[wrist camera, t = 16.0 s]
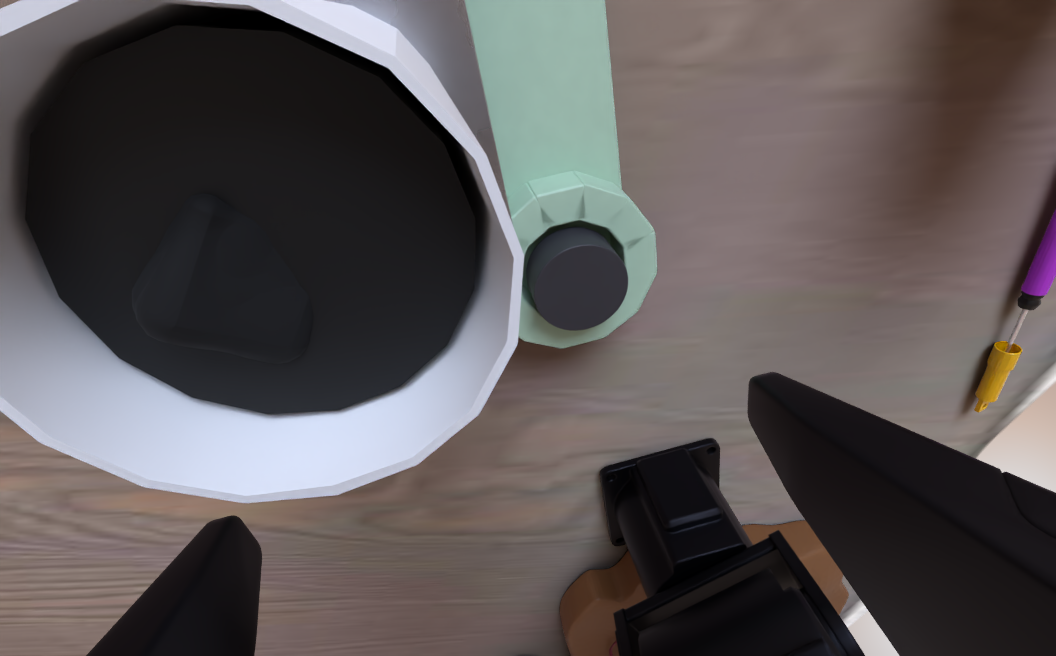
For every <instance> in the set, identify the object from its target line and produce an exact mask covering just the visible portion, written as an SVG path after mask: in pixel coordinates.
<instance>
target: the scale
mask: <svg viewBox="0 0 1056 656" xmlns="http://www.w3.org/2000/svg"><path fill="white" fill-rule="evenodd" d="M465 3H466V8H467V13H468V17H469V22H470V27H471V31H472V36H473V41H474V45H475V50H476V55H477V59H478V64H479V69H480V73H481V78H482V83H483V87H484V92H485V97H486V101H487V106H488V111H489V115H490V120H491V125H492V129H493V134H494V139H495V143H496V148H497V153H498V157H499V162H500V167H501V171H502V176H503V181H504V185H505V190H506V195H507V199H508V204H509V209H510V213H511V218H512V223H513V227H514V230H515V232H516V235H517V238H518V240H519V243H520V246H521V248H522V251H523V254H524V264H523V278H522V292H521V307H520V321H519V335H518V337H519V338H520V339H522V340H523V341H525V342H530V343H535V344H540V345H546V346H551V347H556V348H561V349H563V348H568V347H571V346H575V345H579V344H583V343H587V342H591V341H595V340H598V339H602V338H604V337H606V336H608V335H609V334H610V333H611V332H613V331H614V330H615V329H617V328H618V327H619V326H620V325H622V324H623V323H624V322H625V321H627V320H628V319H629V318H630V317H632V316H633V315H634V314H635V313H637V312H638V310H639V309H640V307H641V305H642V302H643V300H644V298H645V296H646V294H647V292H648V290H649V288H650V286H651V284H652V282H653V280H654V278H655V276H656V274H657V273H656V272H657V256H656V238H655V231H654V228H653V227H652V226H651V224H650V223H649V222H648V221H647V219H646V218H645V217H644V215H643V214H642V213H641V212H640V210H639V209H638V208H637V206H636V205H635V204H634V203H633V201H632V200H631V199H630V198H629V197H628V196H627V195H626V194H625V193H624V192H623V191H622V185H621V174H620V163H619V152H618V141H617V130H616V119H615V107H614V96H613V85H612V74H611V63H610V52H609V41H608V30H607V18H606V7H605V0H465ZM568 227H584V228H588V229H591V230H594V231H596V232H598V233H599V234H601V235H602V236H603V237H604V238H605V239H606V240H607V241H608V243H609V244H610V245H611V247H612V248H613V249H614V250H615V252H616V253H617V254H618V256H619V257H620V258H621V260H622V261H623V263H624V265H625V267H626V269H627V273H628V289H627V293H626V296H625V298H624V301H623V302H622V304H621V306H620V307H619V309H618V310H617V311H616V312H615V313H614V314H613V315H612V316H611V317H610V318H609V319H607V320H606V321H605V322H603V323H601V324H599V325H597V326H595V327H592V328H589V329H585V330H578V331H570V330H564V329H560V328H557V327H555V326H553V325H551V324H550V323H548V322H547V321H546V320H545V319H544V318H543V317H542V316H541V315H540V313H539V312H538V310H537V308H536V305H535V303H534V300H533V297H532V295H531V292H530V290H529V287H528V284H527V279H526V268H527V263H528V260H529V257H530V255H531V253H532V251H533V250H534V248H535V247H536V246H537V245H538V243H539V242H540V241H541V240H543V239H544V238H545V237H546V236H548V235H550V234H551V233H553V232H555V231H557V230H560V229H563V228H568Z"/></svg>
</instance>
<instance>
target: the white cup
mask: <svg viewBox="0 0 1056 656" xmlns="http://www.w3.org/2000/svg"><path fill="white" fill-rule="evenodd" d="M523 264H524V254H523V251H522V248H521V246H520V243H519V240H518V238H517V235H516V232H515V230H514V227H513V224H512V222H511V219H510V216H509V214H508V211H507V208H506V206H505V203H504V200H503V198H502V195H501V192H500V190H499V187H498V184H497V182H496V179H495V176H494V174H493V171H492V168H491V166H490V163H489V160H488V158H487V155H486V153H485V152H484V150H483V149H482V147H481V146H480V144H479V142H478V141H477V139H476V138H475V136H474V134H473V133H472V131H471V130H470V128H469V127H468V125H467V123H466V122H465V120H464V119H463V117H462V116H461V114H460V112H459V111H458V109H457V108H456V106H455V104H454V103H453V101H452V100H451V98H450V97H449V95H448V93H447V92H446V90H445V89H444V87H443V86H442V84H441V82H440V81H439V79H438V78H437V76H436V75H435V73H434V71H433V70H432V68H431V67H430V65H429V64H428V62H427V61H426V60H425V59H424V58H423V57H422V56H421V55H420V53H419V52H418V51H417V50H416V49H415V48H414V47H413V46H412V45H411V43H410V42H409V41H408V40H407V39H406V38H405V37H404V36H403V35H402V33H401V32H400V31H399V30H398V29H397V28H395V27H393V26H391V25H389V24H387V23H385V22H384V21H382V20H380V19H378V18H376V17H374V16H372V15H370V14H368V13H366V12H364V11H362V10H360V9H358V8H356V7H354V6H352V5H345V4H340V3H335V2H330V1H325V0H20V1H18V2H16V3H13V4H11V5H8V6H6V7H3V8H1V9H0V411H1V412H3V413H4V414H5V415H6V416H8V417H9V418H10V419H11V420H13V421H14V422H15V423H16V424H17V425H19V426H20V427H21V428H22V429H24V430H25V431H26V432H27V433H29V434H30V435H31V436H32V437H34V438H35V439H36V440H37V441H39V442H40V443H42V444H44V445H46V446H49V447H51V448H53V449H56V450H58V451H60V452H63V453H65V454H67V455H70V456H72V457H74V458H77V459H79V460H81V461H84V462H86V463H88V464H91V465H93V466H95V467H98V468H100V469H103V470H105V471H107V472H110V473H112V474H114V475H117V476H119V477H121V478H124V479H126V480H128V481H131V482H133V483H135V484H138V485H140V486H142V487H146V488H153V489H159V490H165V491H171V492H178V493H184V494H190V495H196V496H202V497H209V498H215V499H221V500H227V501H234V502H240V503H253V502H265V501H276V500H287V499H299V498H310V497H322V496H333V495H339V494H342V493H344V492H347V491H349V490H352V489H355V488H357V487H360V486H363V485H365V484H368V483H371V482H373V481H376V480H379V479H381V478H384V477H387V476H389V475H392V474H395V473H397V472H400V471H403V470H405V469H408V468H410V467H413V466H416V465H418V464H419V463H420V462H421V461H423V460H424V459H425V458H426V457H427V456H429V455H430V454H431V453H432V452H434V451H435V450H436V449H437V448H438V447H440V446H441V445H442V444H443V443H445V442H446V441H447V440H448V439H450V438H451V437H452V436H453V435H454V434H456V433H457V432H458V431H459V430H461V429H462V428H463V427H464V426H466V425H467V424H468V423H469V422H470V421H472V420H473V419H474V418H475V417H477V416H478V415H479V414H480V412H481V410H482V408H483V406H484V405H485V403H486V401H487V399H488V397H489V396H490V394H491V392H492V390H493V388H494V387H495V385H496V383H497V381H498V379H499V377H500V376H501V374H502V372H503V370H504V368H505V367H506V365H507V363H508V361H509V359H510V357H511V356H512V354H513V352H514V350H515V348H516V347H517V345H518V335H519V321H520V307H521V292H522V278H523Z"/></svg>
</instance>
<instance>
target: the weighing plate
mask: <svg viewBox="0 0 1056 656" xmlns="http://www.w3.org/2000/svg"><path fill="white" fill-rule="evenodd" d="M325 1H330V2H335V3H340V4H345V5H352V6H354V7H356V8H358V9H360V10H362V11H364V12H366V13H368V14H370V15H372V16H374V17H376V18H378V19H380V20H382V21H384V22H385V23H387V24H389V25H391V26H393V27H395V28H397V29H398V30H399V31H400V32H401V33H402V35H403V36H404V37H405V38H406V39H407V40H408V41H409V42H410V43H411V45H412V46H413V47H414V48H415V49H416V50H417V51H418V52H419V53H420V55H421V56H422V57H423V58H424V59H425V60H426V61H427V62H428V64H429V65H430V67H431V68H432V70H433V71H434V73H435V75H436V76H437V78H438V79H439V81H440V82H441V84H442V86H443V87H444V89H445V90H446V92H447V93H448V95H449V97H450V98H451V100H452V101H453V103H454V104H455V106H456V108H457V109H458V111H459V112H460V114H461V116H462V117H463V119H464V120H465V122H466V123H467V125H468V127H469V128H470V130H471V131H472V133H473V134H474V136H475V138H476V139H477V141H478V142H479V144H480V146H481V147H482V149H483V150H484V152H485V153H486V155H487V158H488V160H489V163H490V166H491V168H492V171H493V174H494V176H495V179H496V182H497V184H498V187H499V190H500V192H501V195H502V198H503V200H504V203H505V206H506V208H507V211H508V214H509V216H510V219H511V222H512V218H511V213H510V209H509V204H508V199H507V195H506V190H505V185H504V181H503V176H502V171H501V167H500V162H499V157H498V153H497V148H496V143H495V139H494V134H493V129H492V125H491V120H490V115H489V111H488V106H487V101H486V97H485V92H484V87H483V83H482V78H481V73H480V69H479V64H478V59H477V55H476V50H475V45H474V41H473V36H472V31H471V27H470V22H469V17H468V13H467V8H466V3H465V0H325ZM512 224H513V223H512Z"/></svg>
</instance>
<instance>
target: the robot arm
mask: <svg viewBox="0 0 1056 656" xmlns="http://www.w3.org/2000/svg"><path fill="white" fill-rule="evenodd" d="M748 418H749V421H750V424H751V426H752V428H753V430H754V431H755V433H756V435H757V437H758V439H759V441H760V442H761V444H762V446H763V448H764V450H765V452H766V454H767V455H768V457H769V459H770V461H771V463H772V465H773V466H774V468H775V470H776V472H777V474H778V476H779V478H780V479H781V481H782V483H783V485H784V487H785V488H786V490H787V492H788V494H789V495H790V497H791V499H792V500H793V502H794V504H795V505H796V507H797V508H798V510H799V511H800V513H801V514H802V516H803V517H804V518H805V520H806V521H807V523H808V524H809V526H810V527H811V529H812V530H813V531H814V533H815V534H816V536H817V537H818V539H819V540H820V541H821V543H822V544H823V546H824V547H825V549H826V550H827V552H828V553H829V554H830V556H831V557H832V559H833V560H834V562H835V563H836V565H837V566H838V567H839V569H840V570H841V572H842V573H843V575H844V576H845V578H846V579H847V580H848V582H849V583H850V585H851V586H852V588H853V589H854V591H855V592H856V593H857V595H858V596H859V598H860V599H861V601H862V602H863V604H864V605H865V606H866V608H867V609H868V611H869V612H870V613H871V615H872V616H873V618H874V619H875V621H876V622H877V624H878V625H879V627H880V628H881V629H882V631H883V632H884V634H885V635H886V636H887V638H888V639H889V641H890V642H891V644H892V645H893V647H894V648H895V650H896V651H897V653H898V654H899V655H900V656H1056V493H1055V492H1053V491H1050V490H1047V489H1045V488H1043V487H1041V486H1038V485H1036V484H1033V483H1031V482H1029V481H1026V480H1024V479H1022V478H1020V477H1017V476H1015V475H1013V474H1010V473H1008V472H1004V473H1002V472H1001V470H1000V469H998V468H996V467H994V466H991V465H989V464H987V463H984V462H982V461H980V460H977V459H975V458H973V457H971V456H968V455H966V454H964V453H961V452H959V451H957V450H954V449H952V448H950V447H947V446H945V445H943V444H940V443H938V442H936V441H934V440H931V439H929V438H927V437H924V436H922V435H920V434H917V433H915V432H913V431H910V430H908V429H906V428H903V427H901V426H899V425H897V424H894V423H892V422H890V421H887V420H885V419H883V418H880V417H878V416H876V415H873V414H871V413H869V412H866V411H864V410H862V409H860V408H857V407H855V406H853V405H850V404H848V403H846V402H843V401H841V400H839V399H836V398H834V397H832V396H829V395H827V394H825V393H823V392H820V391H818V390H816V389H813V388H811V387H809V386H806V385H804V384H802V383H799V382H797V381H795V380H792V379H790V378H788V377H785V376H783V375H781V374H778V373H775V372H769V373H766V374H762V375H758V376H754V377H752V378H751V379H750V381H749V391H748ZM719 468H720V447H719V445H718V443H717V442H716V440H715V439H712V438H709V439H705V440H701V441H697V442H694V443H690V444H686V445H683V446H679V447H675V448H672V449H668V450H664V451H661V452H657V453H653V454H650V455H646V456H642V457H639V458H635V459H631V460H628V461H624V462H620V463H617V464H613V465H609V466H606V467H604V468H603V469H602V470H601V471H600V479H601V485H602V492H603V498H604V504H605V510H606V516H607V522H608V528H609V534H610V539H611V541H612V544H613V545H615V546H621V545H625V544H626V545H627V547H628V550H629V552H630V555H631V558H632V560H633V563H634V566H635V568H636V571H637V573H638V576H639V579H640V581H641V584H642V586H643V589H644V592H645V594H646V597H647V599H645V600H643V601H641V602H639V603H637V604H635V605H633V606H631V607H629V608H627V609H624V608H622V609H620V610H618V611H616V612H614V613H613V615H614V620H615V626H616V631H615V635H616V641H617V646H618V652H619V656H865V655H864V653H863V652H862V650H861V649H860V647H859V645H858V644H857V642H856V641H855V639H854V637H853V636H852V634H851V633H850V631H849V630H848V628H847V627H846V625H845V624H844V622H843V621H842V619H841V617H840V616H839V614H838V613H837V612H836V610H835V609H834V607H833V606H832V604H831V603H830V601H829V600H828V598H827V597H826V596H825V594H824V593H823V591H822V590H821V588H820V587H819V586H818V584H817V583H816V581H815V580H814V579H813V577H812V576H811V574H810V573H809V572H808V570H807V569H806V567H805V566H804V564H803V563H802V562H801V560H800V559H799V557H798V556H797V555H796V553H795V552H794V550H793V549H792V548H791V546H790V545H789V543H788V542H787V540H786V539H785V538H784V536H783V535H782V533H781V532H780V531H779V530H777V531H775V532H773V533H771V534H769V535H768V536H769V537H768V538H766V539H764V540H762V541H760V542H758V543H756V544H754V545H753V544H752V542H751V541H750V539H749V537H748V536H747V534H746V532H745V531H744V529H743V527H742V526H741V524H740V523H739V521H738V519H737V518H736V516H735V514H734V513H733V511H732V509H731V508H730V506H729V504H728V503H727V501H726V500H725V498H724V496H723V495H722V493H721V491H720V490H719ZM261 566H262V551H261V547H260V545H259V543H258V541H257V540H256V539H255V537H254V536H253V535H252V533H251V532H250V531H249V529H248V528H247V527H246V525H245V524H244V523H243V521H242V520H241V519H240V518H239V517H237V516H227V517H224V518H220V519H216V520H213V521H211V522H209V523H208V524H207V525H205V526H204V528H203V529H202V530H201V531H200V532H199V533H198V534H197V535H196V536H195V537H194V538H193V540H192V541H191V542H190V543H189V544H188V545H187V546H186V547H185V548H184V549H183V550H182V552H181V553H180V554H179V555H178V556H177V557H176V558H175V559H174V560H173V561H172V562H171V564H170V565H169V566H168V567H167V568H166V569H165V570H164V571H163V572H162V573H161V575H160V576H159V577H158V578H157V579H156V580H155V581H154V582H153V583H152V584H151V585H150V587H149V588H148V589H147V590H146V591H145V592H144V593H143V594H142V595H141V596H140V597H139V599H138V600H137V601H136V602H135V603H134V604H133V605H132V606H131V607H130V608H129V610H128V611H127V612H126V613H125V614H124V615H123V616H122V617H121V618H120V619H119V620H118V622H117V623H116V624H115V625H114V626H113V627H112V628H111V629H110V630H109V631H108V632H107V634H106V635H105V636H104V637H103V638H102V639H101V640H100V641H99V642H98V643H97V645H96V646H95V647H94V648H93V649H92V650H91V651H90V652H89V653H88V654H87V655H86V656H254V652H255V645H256V635H257V622H258V608H259V594H260V580H261Z"/></svg>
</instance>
